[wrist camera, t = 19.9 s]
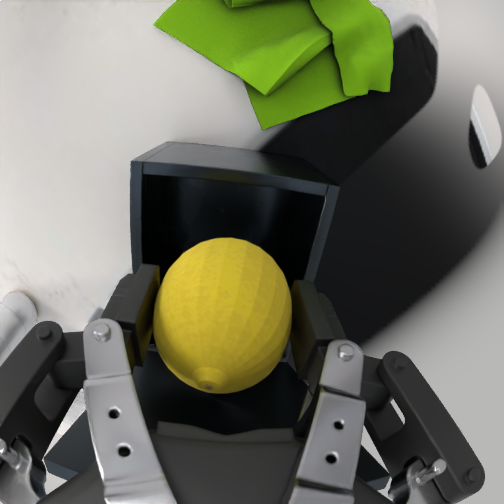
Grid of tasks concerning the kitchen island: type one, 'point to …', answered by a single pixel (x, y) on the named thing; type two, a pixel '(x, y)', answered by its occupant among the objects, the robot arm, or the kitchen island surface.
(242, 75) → the cloth
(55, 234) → the kitchen island surface
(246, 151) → the box
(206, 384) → the lemon
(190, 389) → the caddy lid
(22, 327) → the silver bottle
